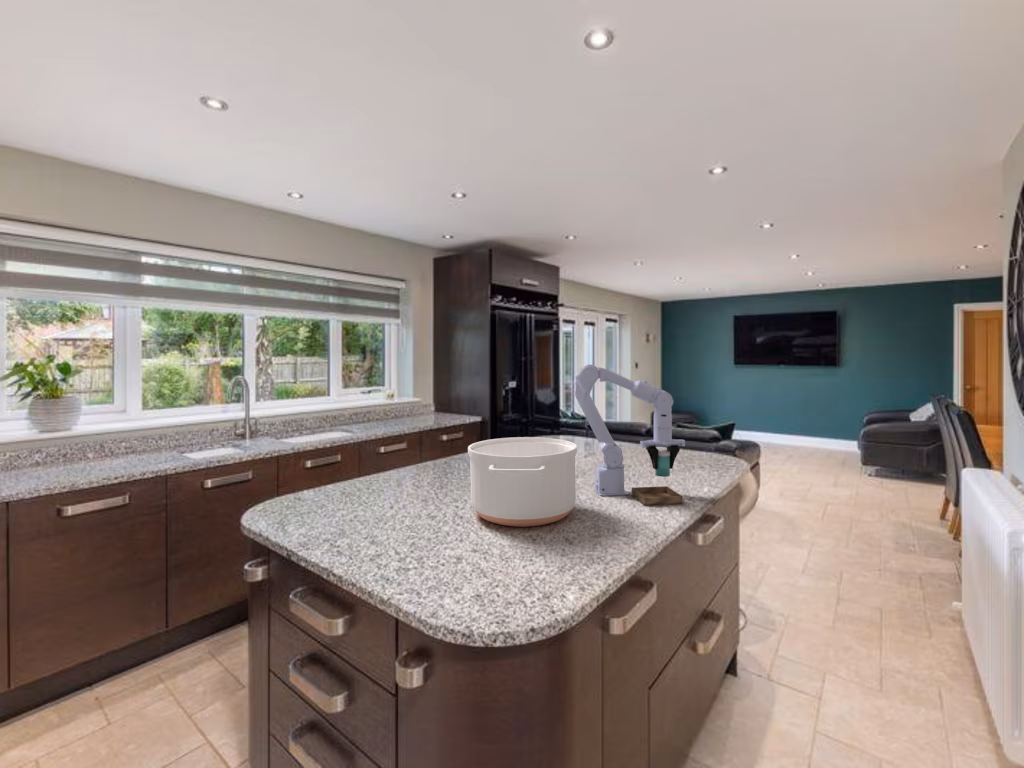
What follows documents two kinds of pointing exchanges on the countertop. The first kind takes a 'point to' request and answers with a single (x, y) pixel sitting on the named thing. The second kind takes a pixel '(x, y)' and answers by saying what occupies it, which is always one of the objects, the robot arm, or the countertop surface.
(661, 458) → the shaker
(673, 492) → the tray
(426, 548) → the countertop surface
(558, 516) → the pot
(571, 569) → the countertop surface
